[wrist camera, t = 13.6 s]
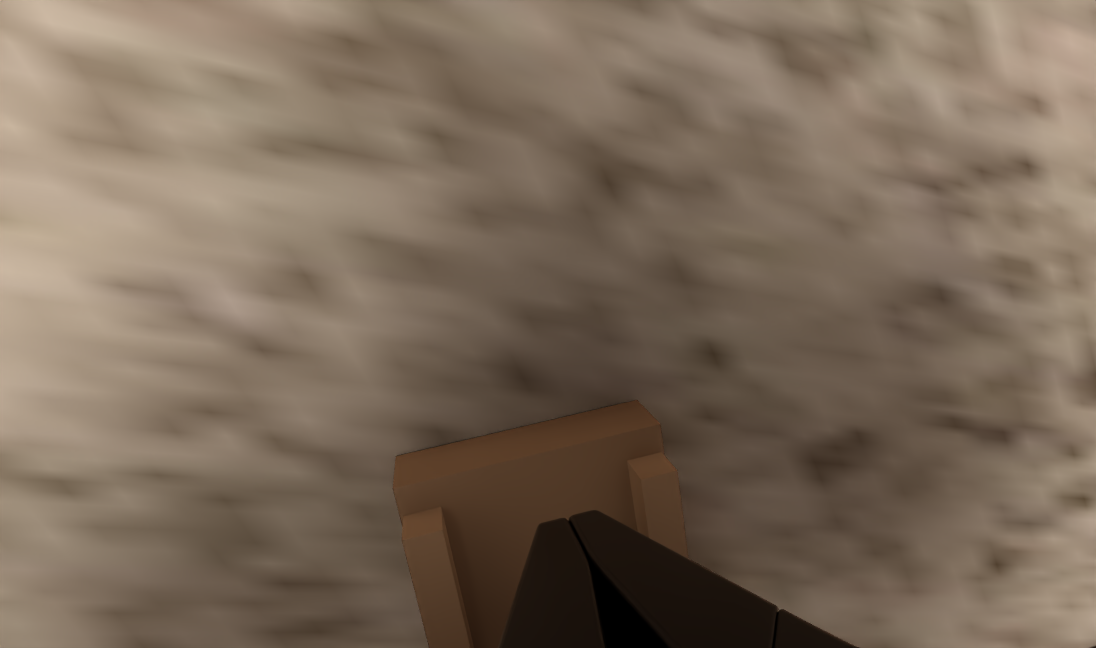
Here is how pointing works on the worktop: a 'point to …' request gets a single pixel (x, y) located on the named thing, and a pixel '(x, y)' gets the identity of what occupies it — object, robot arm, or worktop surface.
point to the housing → (523, 508)
